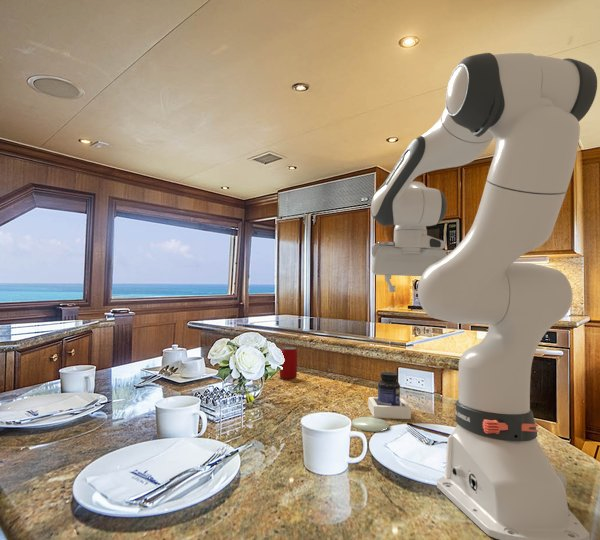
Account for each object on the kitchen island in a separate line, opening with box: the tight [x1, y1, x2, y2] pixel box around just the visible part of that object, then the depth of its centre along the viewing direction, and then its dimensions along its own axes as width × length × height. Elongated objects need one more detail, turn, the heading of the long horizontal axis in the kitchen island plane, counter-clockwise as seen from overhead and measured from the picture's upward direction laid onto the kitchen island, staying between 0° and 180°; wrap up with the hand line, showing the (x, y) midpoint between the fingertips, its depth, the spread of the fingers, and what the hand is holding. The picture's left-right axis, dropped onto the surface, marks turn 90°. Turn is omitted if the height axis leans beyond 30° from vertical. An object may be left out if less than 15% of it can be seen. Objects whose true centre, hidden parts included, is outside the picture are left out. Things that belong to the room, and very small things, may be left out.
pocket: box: [367, 396, 412, 420], centre depth 110 cm, size 10×10×3 cm
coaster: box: [351, 416, 389, 433], centre depth 99 cm, size 9×9×1 cm
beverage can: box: [279, 346, 298, 380], centre depth 154 cm, size 7×7×12 cm
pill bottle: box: [377, 371, 401, 406], centre depth 111 cm, size 6×6×11 cm
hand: (409, 292), depth 107 cm, fingers open, 8 cm apart
